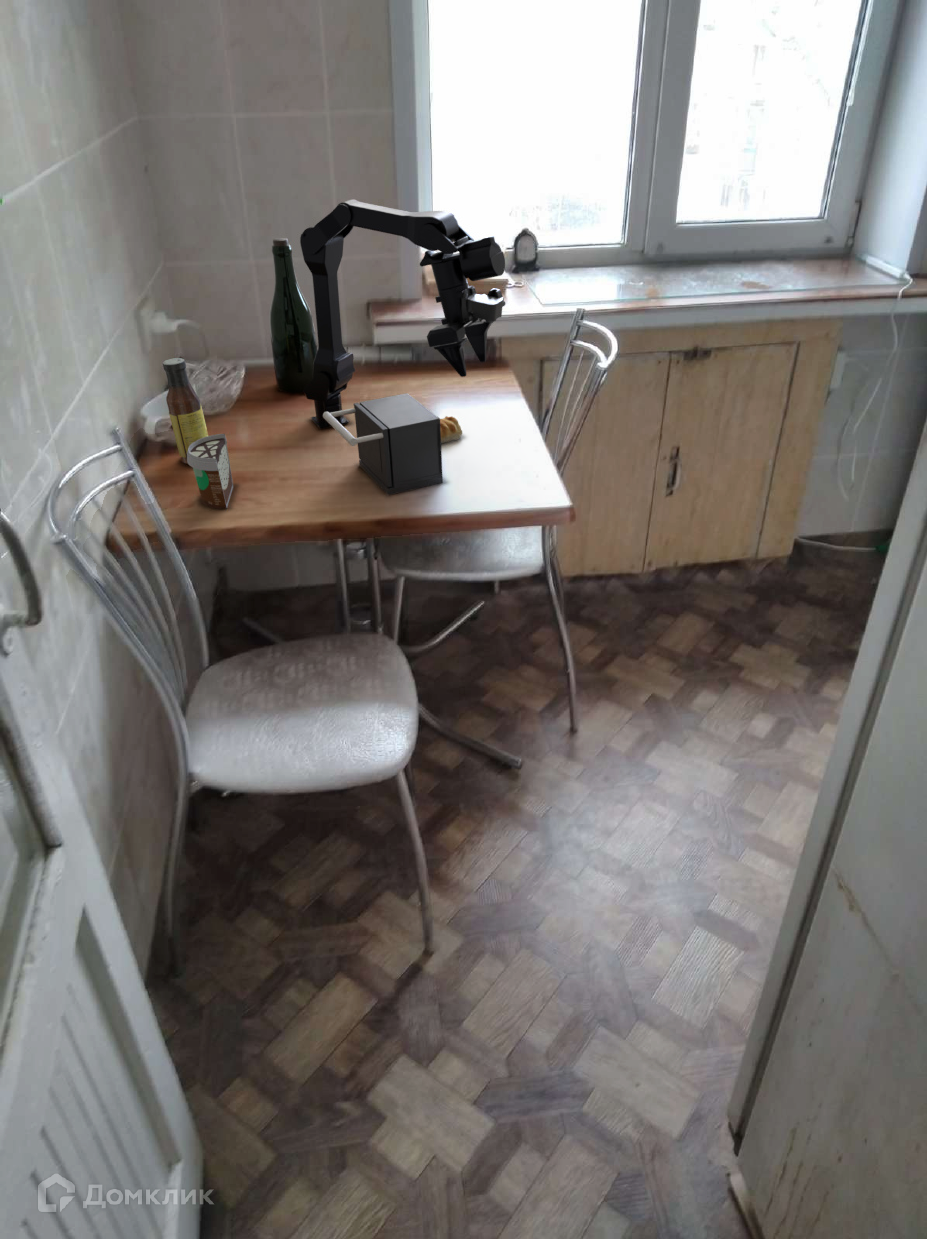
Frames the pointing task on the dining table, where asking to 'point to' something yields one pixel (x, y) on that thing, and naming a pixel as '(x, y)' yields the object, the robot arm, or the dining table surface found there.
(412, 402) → the oven
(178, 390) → the sauce bottle
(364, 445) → the oven door
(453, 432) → the pastry
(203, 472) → the food container
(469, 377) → the dining table surface
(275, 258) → the green wine bottle
